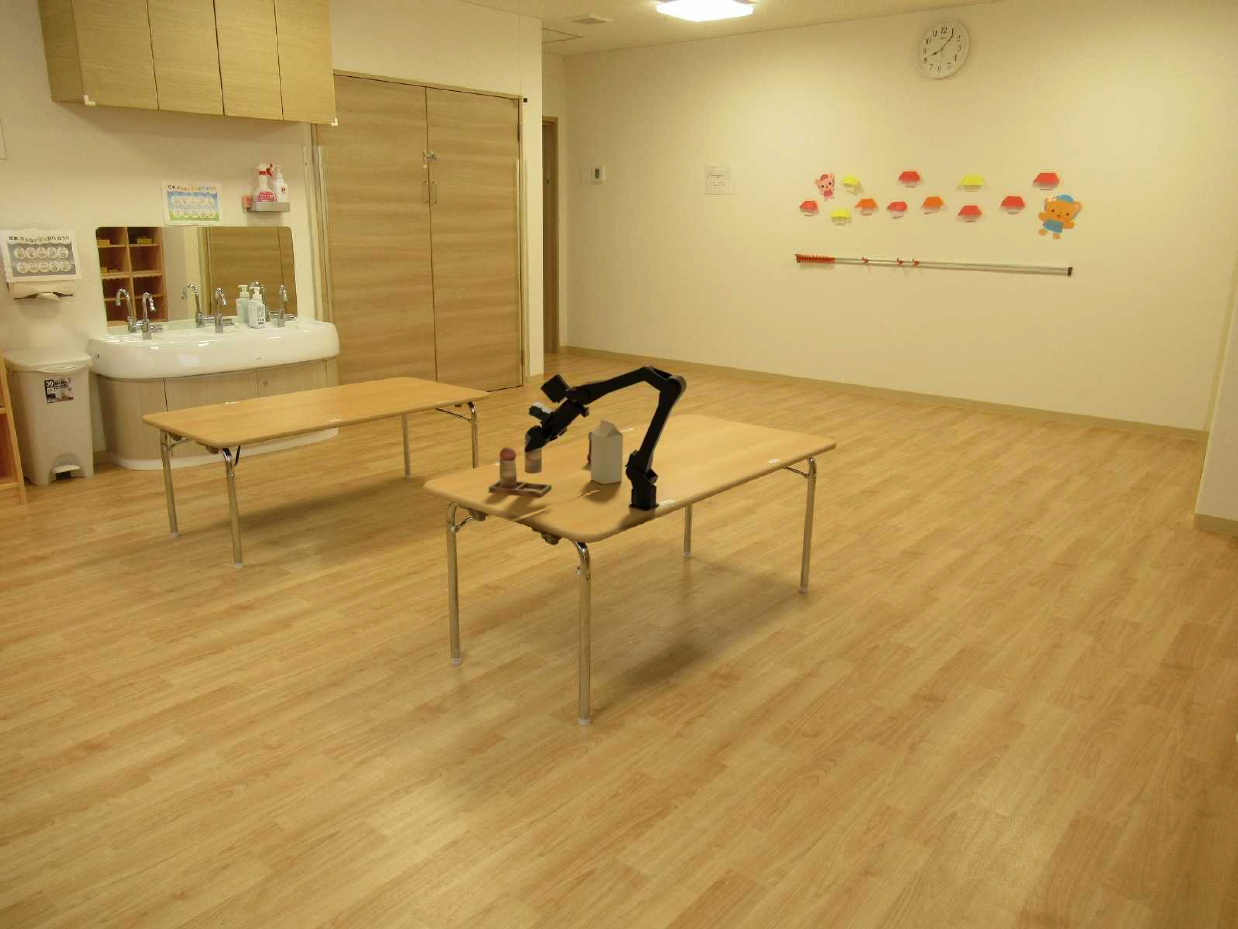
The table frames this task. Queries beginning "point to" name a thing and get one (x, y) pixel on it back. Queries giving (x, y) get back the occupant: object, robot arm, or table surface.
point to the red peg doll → (508, 468)
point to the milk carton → (606, 453)
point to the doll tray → (523, 489)
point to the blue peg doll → (533, 458)
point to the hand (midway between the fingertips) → (528, 449)
